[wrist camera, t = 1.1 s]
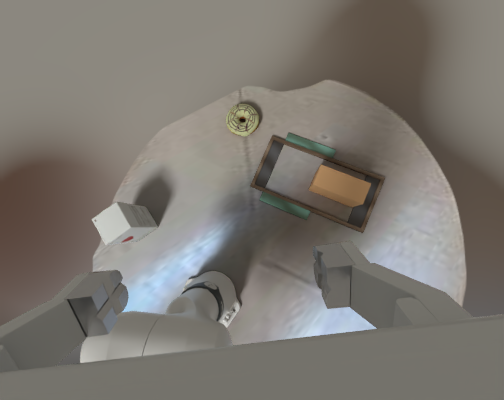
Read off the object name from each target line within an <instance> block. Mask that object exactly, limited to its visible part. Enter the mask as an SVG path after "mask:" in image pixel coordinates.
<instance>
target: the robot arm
mask: <svg viewBox="0 0 504 400" xmlns="http://www.w3.org/2000/svg"><path fill="white" fill-rule="evenodd" d="M313 256H314V258H315V260H316V261H315V263H314V274H315V279H316V283H317V285H318V287H319V288H320V289H322V297H323V299H324V302H325V304H326V306H327V309H330V308H341V307H350V308H351V309H353V310H354V311H355V312H357V313H358V314H359V315H360V316H362V317H363V318H364V319H366V320H367V321H368V322H369V323H371V324H372V325H373V326H375V327H376V328H377V329H372V330H364V331H355V332H346V333H338V334H329V335H320V336H312V337H303V338H294V339H286V340H277V341H268V342H260V343H251V344H242V345H232V340H231V336H230V334H229V331H228V330H227V328H228V326H229V325H230V323H231V322H232V320H233V319H234V317H235V316H236V314H237V313H238V311H239V310H240V308H241V305H240V303H239V301H238V299H237V297H236V292H235V287H234V285H233V283H232V281H231V280H230V279H229V278H228V277H227V276H226V275H225V274H223V273H221V272H217V271H209V272H205V273H203V274H202V275H200V276H198V277H196V278H191V279H188V280H187V282H186V285H185V287H184V288H183V290H184V291H183V293H182V294H181V295H180V296H179V297H177V298H176V299H174V300H173V301H172V302H171V303H170V304H169V306H168V308H167V310H166V312H165V314H159V313H148V312H138V311H130V312H122V311H123V310H124V309H125V307H126V305H127V302H128V291H127V288H126V286H124V285H123V284H122V283H121V281H122V279H123V277H122V275H121V273H120V271H118V270H109V271H99V272H89V273H82V274H79V275H77V276H76V277H75V278H74V279H73V280H72V281H70V282H69V283H68V284H67V285H66V286H65V287H64V288H63V289H62V290H61V291H60V292H59V293H58V294H57V295H56V296H55V297H54V298H53V299H52V300H51V301H49V302H45V303H43V304H41V305H39V306H37V307H35V308H34V309H32V310H30V311H28V312H26V313H24V314H23V315H21V316H19V317H17V318H15V319H13V320H11V321H10V322H8V323H6V324H4V325H2V326H0V400H504V314H502V315H494V316H485V317H476V318H473V317H472V316H471V315H470V314H469V313H468V312H467V311H465V310H464V309H463V308H462V307H461V306H460V305H459V304H458V303H457V302H455V301H454V300H453V299H452V298H451V297H450V296H449V295H448V294H446V293H445V292H443V291H441V290H438V289H436V288H433V287H431V286H429V285H426V284H424V283H421V282H419V281H417V280H414V279H412V278H409V277H407V276H405V275H402V274H400V273H397V272H395V271H392V270H390V269H388V268H385V267H383V266H380V265H378V264H376V263H370V262H369V261H368V260H367V259H366V258H365V256H364V255H363V254H362V253H361V252H360V251H359V249H358V248H357V247H356V246H355V245H354V244H353V242H351V241H345V242H339V243H333V244H326V245H319V246H313ZM233 309H235V310H236V311H234V310H233ZM121 312H122V313H121ZM83 341H84V342H83ZM82 342H83V345H82V348H81V353H80V363H77V364H68V365H59V366H56V365H57V364H58V363H59V362H60V361H61V360H63V359H64V358H65V357H66V356H67V355H68V354H69V353H71V352H72V351H73V350H74V349H75V348H76V347H77V346H79V345H80V344H81V343H82Z"/></svg>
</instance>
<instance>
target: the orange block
mask: <svg viewBox="0 0 504 400" xmlns="http://www.w3.org/2000/svg"><path fill="white" fill-rule="evenodd" d="M370 186H371V183H369V182H366V181H363V180H361V179H358V178H355V177H353V176H350V175H347V174H345V173H342V172H340V171H337V170H334V169H332V168H329V167H326V166H324V165H320V167H319V168H318V170H317V172H316V173H315V176H314V178H313V180H312V183H311V185H310V188H309V190H310V191H312V192H315V193H317V194H320V195H322V196H325V197H327V198H330V199H332V200H335V201H337V202H340V203H342V204H345V205H347V206H350V207H355V206H358V205H362V204H363V203H364V200H365V198H366V195H367V193H368V191H369V188H370Z"/></svg>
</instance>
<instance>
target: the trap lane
mask: <svg viewBox="0 0 504 400" xmlns="http://www.w3.org/2000/svg"><path fill="white" fill-rule="evenodd" d="M284 144H285V145H288V146H290V147H293V148H296V149H298V150H301V151H303V152H306V153H309V154H311V155H314V156H317V157H319V158H322V159H325V160H327V161H330V162H333V163H335V164H338V165H341V166H343V167H346V168H349V169H351V170H354V171H357V172H359V173H362V174H365V175H367V176H366V178H365V181H366V182H369V183H371V186H370V188H369V191H368V193H367V195H366V198H365V200H364V203H363V204H362V205H358V206H355V207H354V208H353V210H352V213H351V215H350V218H349V220H348V222H344V221H342V220H339V219H337V218H335V217H332V216H330V215H327V214H325V213H323V212H320V211H318V210H315V209H313V208H310V207H308V206H306V205H303V204H301V203H298V202H296V201H294V200H291V199H289V198H286V197H284V196H281V195H279V194H277V193H274V192H272V191H269V190H267V189H265V186H266V184H267V182H268V179H269V177H270V175H271V172H272V170H273V168H274V165H275V163H276V161H277V159H278V156H279V154H280V152H281V149H282V147H283V145H284ZM335 151H336V150H334V149H332V148H329V147H326V146H323V145H321V144H318V143H315V142H313V141H310V140H307V139H304V138H302V137H299V136H296V135H293V134H291V133H288V135H287V138H286V140H283V139H280V138H277V137H274V136H272V137H271V140H270V142H269V144H268V146H267V149H266V151H265V153H264V156H263V158H262V160H261V162H260V165H259V167H258V169H257V171H256V174H255V176H254V178H253V181H252V183H251V185H250V186H251V187H253V188H256V189H258V190H260V191H263V193H262V195H261V197H260V201H263V202H265V203H267V204H270V205H272V206H274V207H277V208H279V209H282V210H284V211H286V212H289V213H291V214H293V215H296V216H298V217H300V218H303V219H305V220H307V218H308V215H309V213H310V211H311V212H313V213H316V214H318V215H321V216H323V217H325V218H328V219H330V220H333V221H335V222H337V223H340V224H342V225H345V226H347V227H349V228H352V229H354V230H357V231H359V232H361V233H363V232H364V229H365V227H366V224H367V222H368V219H369V217H370V214H371V212H372V209H373V207H374V204H375V202H376V200H377V197H378V195H379V192H380V190H381V187H382V185H383V182H384V180H385V178H384V177H382V176H379V175H376V174H374V173H371V172H368V171H366V170H363V169H360V168H358V167H355V166H352V165H350V164H347V163H344V162H341V161H339V160H336V159H333V156H334V153H335Z"/></svg>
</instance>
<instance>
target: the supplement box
mask: <svg viewBox="0 0 504 400" xmlns="http://www.w3.org/2000/svg"><path fill="white" fill-rule="evenodd" d="M92 221H93V222H94V224H95V226H96V228H97V230H98V232H99V233H100V235H101V237H102V239H103V241H104V243H105V245H110V244H120V243H130V242H138V241H139V240H141V239H142V238H144V237H145V236H147V235H148V234H150V233H151V232H152V231H154V230H155V229H157V228H158V226H157V224H156V222H155V221H154V219H153V217H152V216H151V214H150V212H149V211H148V209H147V207H146V206H139V205H133V204H127V203H121V202H115V203H114V204H113V205H111V206H110V207H108V208H107V209H105V210H104V211H102V212H101V213H100V214H98V215H97V216H96V217H94V218H93V219H92Z"/></svg>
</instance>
